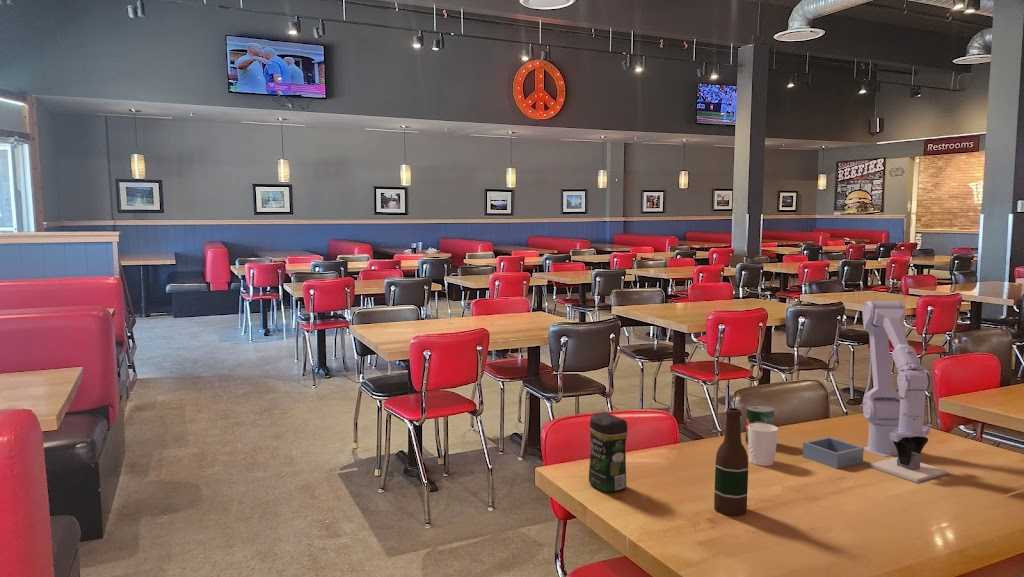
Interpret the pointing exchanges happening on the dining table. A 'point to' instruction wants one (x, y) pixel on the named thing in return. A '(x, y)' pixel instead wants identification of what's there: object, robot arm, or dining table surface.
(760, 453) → the white cup
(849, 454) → the open box
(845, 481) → the dining table surface
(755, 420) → the canned tomato
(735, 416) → the beer bottle
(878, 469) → the mat
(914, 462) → the lid
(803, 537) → the dining table surface
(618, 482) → the coffee jar
